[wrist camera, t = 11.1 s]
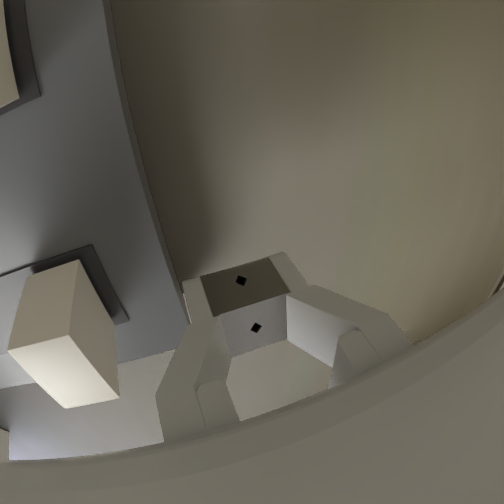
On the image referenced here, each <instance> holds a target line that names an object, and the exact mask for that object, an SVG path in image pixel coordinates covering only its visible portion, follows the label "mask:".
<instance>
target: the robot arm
mask: <svg viewBox="0 0 504 504" xmlns="http://www.w3.org/2000/svg"><path fill="white" fill-rule="evenodd" d="M182 286H183V290H184V294H185V297H186V301H187V305H188V309H189V313H190V316H191V320H192V324H189V325H187V327H186V329H185V331H184V333H183V335H182V338H181V340H180V342H179V344H178V346H177V348H176V351H175V353H174V355H173V357H172V359H171V361H170V364H169V366H168V368H167V370H166V372H165V375H164V377H163V379H162V381H161V384H160V386H159V388H158V390H157V392H156V395H155V397H156V402H157V408H158V413H159V418H160V423H161V428H162V433H163V437H164V442H163V443H159V444H154V445H149V446H144V447H139V448H134V449H128V450H122V451H116V452H110V453H103V454H96V455H88V456H79V457H69V458H57V459H42V460H0V504H504V288H502V289H501V290H500V291H498V292H497V293H496V294H494V295H493V296H491V297H490V298H489V299H487V300H486V301H484V302H483V303H482V304H480V305H479V306H477V307H476V308H474V309H473V310H471V311H470V312H468V313H467V314H465V315H464V316H462V317H461V318H459V319H458V320H456V321H455V322H453V323H452V324H450V325H448V326H447V327H445V328H444V329H442V330H440V331H439V332H437V333H435V334H434V335H432V336H430V337H429V338H427V339H425V340H424V341H422V342H420V343H418V344H417V345H415V346H414V345H413V344H412V343H411V341H410V340H409V339H408V338H407V336H406V335H405V334H404V333H403V331H402V330H401V329H400V328H399V327H398V325H397V324H396V323H395V322H394V320H393V319H392V318H391V317H390V316H389V314H387V313H385V312H382V311H380V310H377V309H375V308H372V307H370V306H367V305H365V304H362V303H360V302H357V301H354V300H352V299H349V298H347V297H344V296H342V295H339V294H337V293H334V292H332V291H329V290H327V289H324V288H322V287H319V286H317V285H312V286H309V284H308V283H307V282H306V280H305V279H304V278H303V276H302V275H301V273H300V272H299V271H298V269H297V268H296V267H295V265H294V264H293V262H292V261H291V260H290V258H289V257H288V256H287V254H286V253H284V252H280V253H277V254H274V255H271V256H268V257H267V258H262V259H259V260H256V261H253V262H249V263H246V264H243V265H239V266H236V267H232V268H229V269H225V270H221V271H217V272H214V273H210V274H206V275H203V276H200V277H196V278H192V279H189V280H185V281H182ZM285 339H287V340H288V341H289V342H291V343H293V344H294V345H296V346H298V347H299V348H301V349H302V350H304V351H306V352H307V353H309V354H310V355H312V356H314V357H315V358H317V359H319V360H320V361H322V362H324V363H325V364H327V365H329V366H330V367H332V373H331V378H330V383H329V387H328V389H326V390H324V391H322V392H319V393H317V394H314V395H312V396H310V397H307V398H305V399H302V400H300V401H297V402H294V403H292V404H289V405H287V406H284V407H281V408H279V409H276V410H273V411H270V412H268V413H265V414H262V415H259V416H256V417H253V418H250V419H247V420H244V421H241V422H240V420H239V417H238V415H237V412H236V410H235V407H234V404H233V402H232V399H231V396H230V394H229V391H228V388H227V386H226V379H227V375H228V371H229V367H230V363H231V358H232V357H235V356H237V355H240V354H243V353H246V352H249V351H252V350H254V349H257V348H260V347H263V346H266V345H270V344H273V343H276V342H279V341H282V340H285Z"/></svg>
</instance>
